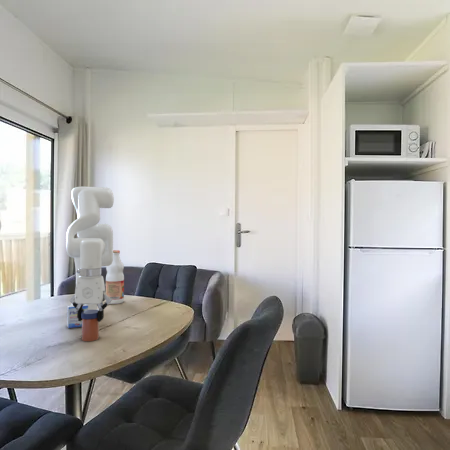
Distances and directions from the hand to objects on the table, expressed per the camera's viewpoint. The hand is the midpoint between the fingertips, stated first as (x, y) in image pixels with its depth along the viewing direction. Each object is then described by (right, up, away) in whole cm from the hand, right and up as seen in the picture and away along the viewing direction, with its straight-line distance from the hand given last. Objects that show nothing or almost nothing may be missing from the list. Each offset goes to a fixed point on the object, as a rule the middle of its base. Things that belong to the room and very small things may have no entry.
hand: (90, 320), depth 138 cm
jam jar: (0, -7, 0) cm, 7 cm away
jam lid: (0, +3, 0) cm, 3 cm away
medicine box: (-11, -7, +16) cm, 21 cm away
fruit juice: (-9, -6, +61) cm, 62 cm away
